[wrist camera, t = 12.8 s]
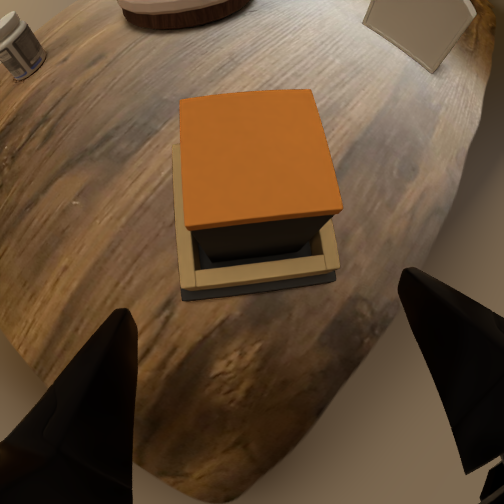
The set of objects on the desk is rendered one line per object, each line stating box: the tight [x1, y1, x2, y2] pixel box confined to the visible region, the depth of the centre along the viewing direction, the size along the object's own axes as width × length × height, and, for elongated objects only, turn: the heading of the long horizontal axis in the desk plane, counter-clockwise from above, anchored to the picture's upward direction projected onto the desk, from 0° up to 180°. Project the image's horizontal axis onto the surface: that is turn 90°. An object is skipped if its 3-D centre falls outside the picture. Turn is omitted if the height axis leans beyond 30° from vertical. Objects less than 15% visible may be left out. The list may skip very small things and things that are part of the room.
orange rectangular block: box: [180, 89, 343, 263], centre depth 13 cm, size 5×5×8 cm
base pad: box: [172, 144, 340, 301], centre depth 17 cm, size 9×9×4 cm
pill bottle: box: [0, 11, 46, 80], centre depth 17 cm, size 5×5×8 cm
